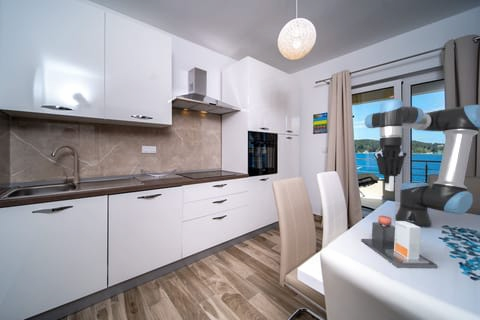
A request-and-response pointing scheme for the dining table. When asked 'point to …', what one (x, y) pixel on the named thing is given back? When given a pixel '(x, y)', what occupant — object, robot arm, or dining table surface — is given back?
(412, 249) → the skincare box
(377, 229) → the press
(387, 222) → the plunger
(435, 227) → the dining table surface
